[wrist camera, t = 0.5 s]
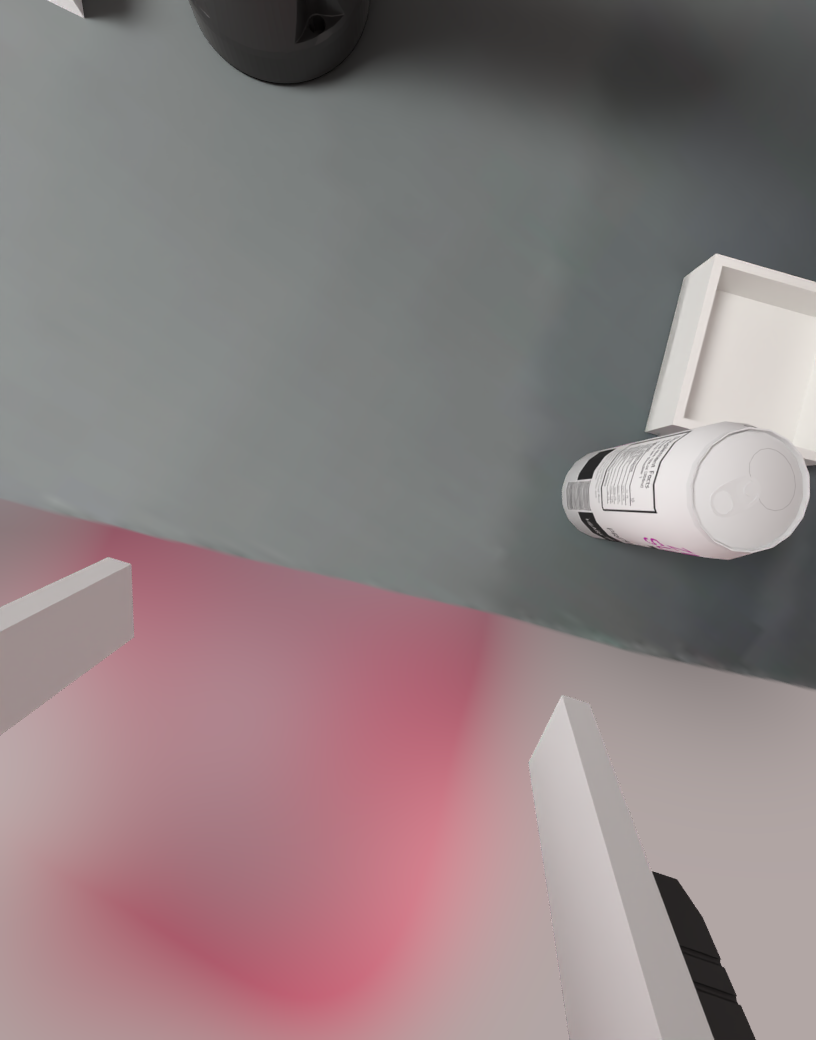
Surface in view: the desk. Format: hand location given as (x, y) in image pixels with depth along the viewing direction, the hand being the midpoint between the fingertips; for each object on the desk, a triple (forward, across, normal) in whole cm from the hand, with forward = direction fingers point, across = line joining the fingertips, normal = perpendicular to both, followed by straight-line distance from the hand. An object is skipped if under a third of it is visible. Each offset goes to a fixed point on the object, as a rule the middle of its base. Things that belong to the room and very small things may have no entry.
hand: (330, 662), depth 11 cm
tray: (+34, +26, +15) cm, 45 cm away
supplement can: (+29, +16, +2) cm, 33 cm away
